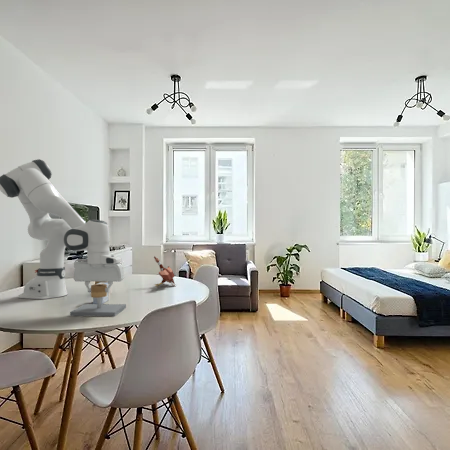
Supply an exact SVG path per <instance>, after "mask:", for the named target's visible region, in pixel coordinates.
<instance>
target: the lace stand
mask: <svg viewBox="0 0 450 450" xmlns="http://www.w3.org/2000/svg"><path fill="white" fill-rule="evenodd" d="M126 308H127V304H126V303H123V304H121V303H119V304H118V303H103V304H101V297H100V298H97V304H93V303H84V304H83V305H81V306H78V307H77V308H75V309H73V310H71V311H69V317H116V316H117V315H118V314H119V313H122V311H124V310H125V309H126Z"/></svg>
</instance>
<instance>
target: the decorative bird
mask: <svg viewBox="0 0 450 450" xmlns="http://www.w3.org/2000/svg"><path fill="white" fill-rule="evenodd" d="M153 258H154V261H155V262H156V263H157V265H158V266H159V270H160V271H158V274H159V277H161V279H162V280H161V282H159V283H156V284H154V286H156V287H158V286H160V285H164V284H165V283H166V282H167V283H169V284H170V285H171V286H173V287H176V286H175V285H176V284H175V281H174V277H175V276H176V275H175V273H174V271H173V270H172V268H171V267H170V265H169V266H167V268H166V267H164V265H163V264H162V262H161V261H160V259H159V258H157V257H156V256H155V255H154V257H153Z"/></svg>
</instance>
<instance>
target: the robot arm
mask: <svg viewBox="0 0 450 450" xmlns="http://www.w3.org/2000/svg"><path fill="white" fill-rule="evenodd" d="M52 175H53V173H52V171H51V167H50V166H49V164H47V163H46V162H45V161H44V160H42V159H39V158H38V159H35V160H33V159H32V160H31V161H30V162H26V163H24V164H21V165H19V166H17V167H16V168H13V169H12V170H10V171H8V172H7V173H3V174H2V175H0V192H1V193H2V194H3V195H5V196H6V197H7V198H18V199H19V202H20V203H21V205H22V207H23V208H24V209H25V211H26V214H27V215H28V218H29V224H28V226H27V232H28V233H27V234H28V236H29V237H31V239H34V240H39V241H46V242H47V243H46V246H45V248H43V249H42V250H41V251H40V254H39V268H37V269H36V270H34V273H36V275H35V276H34V277H33V278H32V279H30V280H29V281H28V282H26V283H25V285H24V287H23V292H22V293H20V294H19V295H18V297H17V298H18V299H35V300H47V299H53V298H60V297H64V296H66V295H68V294H69V293H68V290H67V286H66V266H65V251H66V248H67V249H68V250H69V251H72V252H73V251H74V252H81V251H87V252H86V253H87V255H86V257H87V258H77V259H76V260H75V261H74V263H73V267H74V269H73V270H74V271H73V280H74V282H84V285H85V286H86V289H87V293H91V282H98V283H102V282H104V283H108V287H107V288H105V290H106V291H105V292H108V293H110V292H111V287H112V286H113V284H114V283H115V282H117V283H118V282H122V281H123V280H124V278H125V271H124V270H125V269H124V265H123V264H122V263H121V262H122V257H121V256H117V255H114V254H111V251H110V250H111V249H110V242H111V241H110V240H111V237H110V236H111V234H110V228H109V227H110V226H109V223H108V222H106V221H104V220H100V219H89V220H88V221H85V219H84V218H83V217H82V216H81V215H80V214H79V213H78V211H77V210H76V209H75V208H74V207H73V206H72V205H71V204H70V203H69V202H68V201H67V200H66V199H65V197H63V195H62V194H61V193H60V192H59V191H58V190H57V188H56V187H55V186H54V185H53V183H52V182H51V180H50V179H51V177H52ZM50 214H51V215H54V216H56V217H59V218H52V217H51V216H50Z"/></svg>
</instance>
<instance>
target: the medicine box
mask: <svg viewBox="0 0 450 450" xmlns="http://www.w3.org/2000/svg"><path fill="white" fill-rule="evenodd" d="M97 284H106V285H107V287H108V286H109V284H108V282H98V283H97ZM108 301H109V292H107V296H105V297H101V304H106V302H108ZM92 304H97V298H93V297H92Z"/></svg>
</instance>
